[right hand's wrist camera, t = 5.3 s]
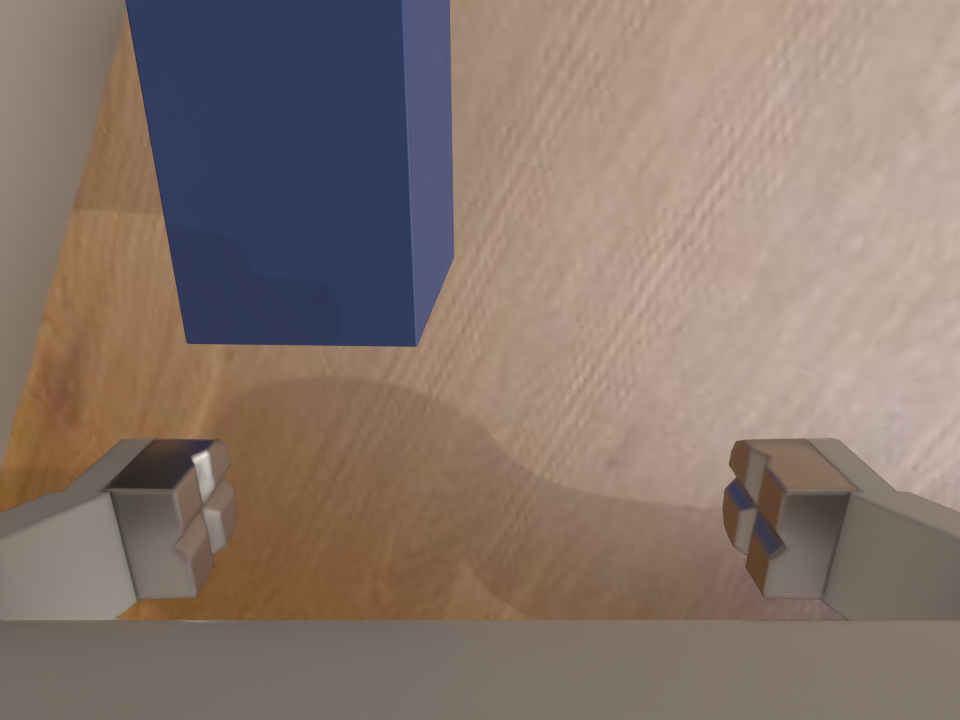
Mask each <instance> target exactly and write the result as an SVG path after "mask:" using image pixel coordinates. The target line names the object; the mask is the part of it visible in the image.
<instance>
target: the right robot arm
mask: <svg viewBox="0 0 960 720" xmlns="http://www.w3.org/2000/svg"><path fill="white" fill-rule="evenodd" d="M230 466H231V462H230V458H229V453H228V448H227V446H226V445H225V443H224V442H223V441H222V440H204V439H157V438H138V439H121V440H120V441H119V442H118V443H117V444H116V445H115V446H114V447H112V448H111V449H110V450H109V451H108V452H107V453H106V454H105V455H103V456H102V457H101V458H100V459H99V460H98V461H97V462H96V463H94V464H93V465H92V466H91V467H90V468H89V469H88V470H87V471H85V472H84V473H83V474H82V475H81V476H80V477H79V478H78V479H76V480H75V481H74V482H73V483H72V484H71V485H70V486H69V487H67V488H66V489H65V490H64V491H63V492H50V493H48V494H45V495H43V496H40V497H38V498H35V499H33V500H30V501H28V502H25V503H23V504H20V505H17V506H15V507H12V508H10V509H7V510H5V511H2V512H0V720H960V512H958V511H955V510H953V509H950V508H948V507H945V506H942V505H940V504H937V503H935V502H932V501H930V500H927V499H925V498H922V497H920V496H917V495H915V494H912V493H910V492H897V491H896V490H895V489H894V488H893V487H892V486H890V485H889V484H888V483H887V482H886V481H885V480H884V479H883V478H881V477H880V476H879V475H878V474H877V473H876V472H875V471H874V470H872V469H871V468H870V467H869V466H868V465H867V464H866V463H865V462H863V461H862V460H861V459H860V458H859V457H858V456H857V455H856V454H854V453H853V452H852V451H851V450H850V449H849V448H848V447H847V446H845V445H844V444H843V443H842V442H841V441H840V440H837V439H833V438H816V439H805V438H804V439H762V440H741V441H736V442H735V444H734V447H733V449H732V451H731V456H730V462H729V466H730V467H731V469H732V470H733V472H734V474H735V475H736V478H735V479H734V480H733V481H732V482H731V483H730V484H729V485H728V486H727V487H726V488H725V492H724V500H723V518H724V525H725V529H726V532H727V535H728V537H729V539H730V541H731V543H732V544H733V546H734V548H736V549H738V550H739V551H741V552H743V553H744V554H746V555H747V562H746V568H747V570H748V572H749V573H750V575H751V577H752V578H753V580H754V582H755V583H756V585H757V587H758V588H759V590H760V592H761V593H762V595H763V597H764V598H790V599H823V602H824V603H825V604H826V605H828V606H829V607H830V608H832V609H833V610H834V611H836V612H837V613H838V614H840V615H841V616H843V617H844V618H845V619H847V620H114V619H115V618H116V617H118V616H119V615H120V614H122V613H123V612H124V611H126V610H127V609H129V608H130V607H131V606H133V605H134V604H135V603H137V599H168V598H196V597H197V595H198V593H199V592H200V590H201V588H202V587H203V585H204V583H205V582H206V580H207V578H208V577H209V575H210V573H211V572H212V570H213V568H214V562H213V555H214V554H216V553H217V552H219V551H221V550H222V549H224V548H226V546H227V544H228V543H229V541H230V539H231V537H232V535H233V532H234V528H235V524H236V519H237V498H236V492H235V488H234V487H233V486H232V485H231V484H230V483H229V482H228V481H227V480H226V479H225V478H224V475H225V473H226V472H227V470H228V469H229V467H230Z"/></svg>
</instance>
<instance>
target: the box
mask: <svg viewBox="0 0 960 720" xmlns="http://www.w3.org/2000/svg"><path fill="white" fill-rule="evenodd" d="M125 1H126V6H127V12H128V18H129V23H130V29H131V34H132V40H133V46H134V51H135V57H136V62H137V68H138V74H139V79H140V85H141V90H142V96H143V102H144V107H145V113H146V118H147V124H148V130H149V135H150V141H151V146H152V152H153V158H154V163H155V169H156V174H157V180H158V186H159V191H160V197H161V202H162V208H163V214H164V219H165V225H166V230H167V236H168V242H169V247H170V253H171V258H172V264H173V270H174V275H175V281H176V286H177V292H178V297H179V303H180V309H181V314H182V320H183V325H184V331H185V337H186V342H187V343H188V344H243V345H323V346H403V347H416V346H417V345H418V343H419V340H420V338H421V335H422V333H423V331H424V328H425V326H426V323H427V321H428V319H429V316H430V314H431V311H432V309H433V307H434V304H435V302H436V300H437V297H438V295H439V292H440V290H441V288H442V285H443V283H444V280H445V278H446V276H447V273H448V271H449V268H450V266H451V264H452V261H453V259H454V225H453V167H452V109H451V51H450V0H125Z"/></svg>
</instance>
